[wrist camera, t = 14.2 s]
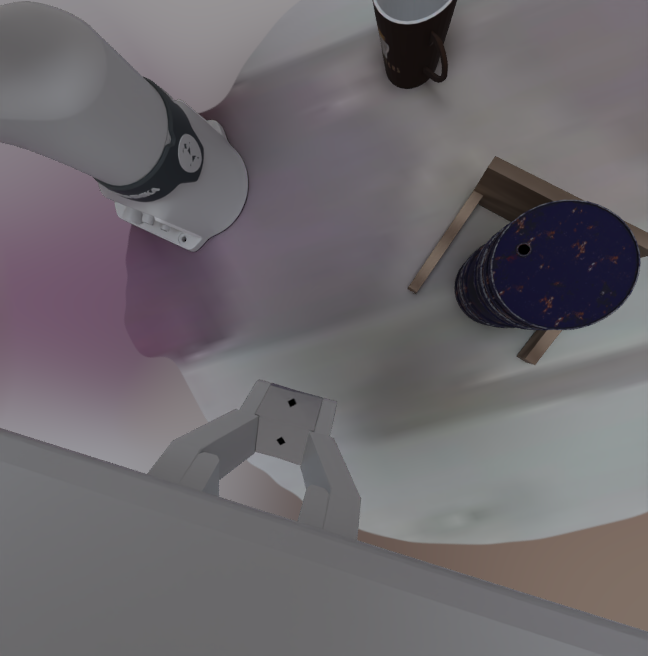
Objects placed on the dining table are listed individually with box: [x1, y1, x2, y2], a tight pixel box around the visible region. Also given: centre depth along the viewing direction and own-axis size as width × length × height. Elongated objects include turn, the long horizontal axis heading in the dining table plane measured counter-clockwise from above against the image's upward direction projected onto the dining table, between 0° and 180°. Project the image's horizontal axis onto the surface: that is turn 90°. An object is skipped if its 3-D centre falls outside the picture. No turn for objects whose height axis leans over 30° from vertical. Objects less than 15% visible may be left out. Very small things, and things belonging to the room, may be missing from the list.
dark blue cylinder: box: [455, 200, 640, 330], centre depth 30 cm, size 10×10×15 cm
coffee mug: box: [373, 0, 457, 89], centre depth 34 cm, size 12×9×10 cm
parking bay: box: [408, 156, 648, 365], centre depth 33 cm, size 14×16×8 cm
